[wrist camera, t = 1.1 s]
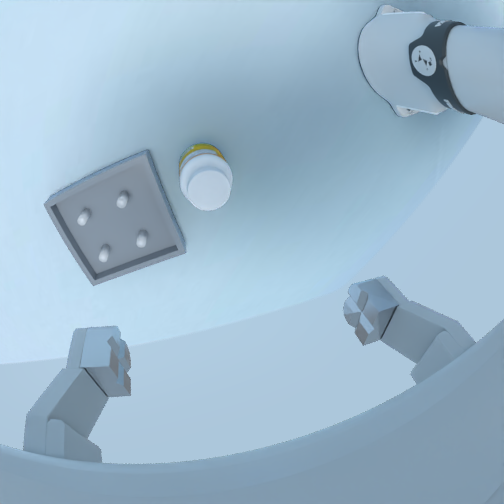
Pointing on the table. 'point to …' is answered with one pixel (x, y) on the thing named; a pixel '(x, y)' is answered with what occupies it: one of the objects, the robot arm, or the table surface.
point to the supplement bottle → (205, 177)
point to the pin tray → (117, 220)
